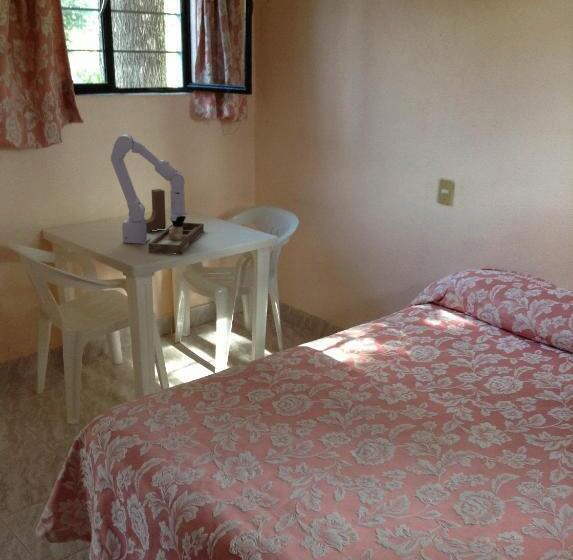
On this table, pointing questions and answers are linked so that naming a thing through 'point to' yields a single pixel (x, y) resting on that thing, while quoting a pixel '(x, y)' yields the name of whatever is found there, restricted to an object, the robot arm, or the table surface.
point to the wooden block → (157, 211)
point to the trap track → (176, 246)
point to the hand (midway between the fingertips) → (178, 233)
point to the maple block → (175, 233)
